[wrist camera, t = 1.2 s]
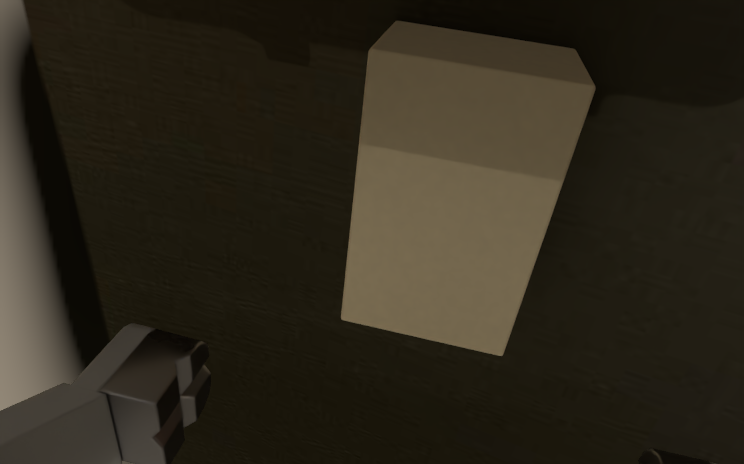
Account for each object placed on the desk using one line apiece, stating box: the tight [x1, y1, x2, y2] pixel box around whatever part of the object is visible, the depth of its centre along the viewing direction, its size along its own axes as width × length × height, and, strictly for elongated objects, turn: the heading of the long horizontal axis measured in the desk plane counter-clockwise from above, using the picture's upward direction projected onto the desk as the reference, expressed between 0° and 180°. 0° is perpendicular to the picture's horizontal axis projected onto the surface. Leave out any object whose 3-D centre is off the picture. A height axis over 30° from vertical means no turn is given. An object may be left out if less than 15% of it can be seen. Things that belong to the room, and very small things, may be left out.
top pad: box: [341, 21, 596, 356], centre depth 17 cm, size 9×6×4 cm, turn 173°
